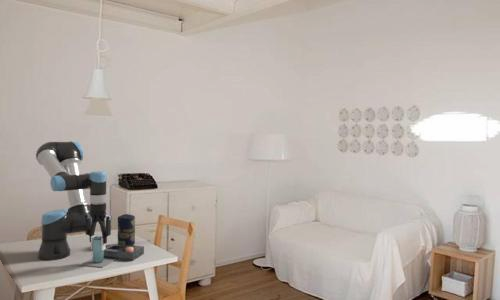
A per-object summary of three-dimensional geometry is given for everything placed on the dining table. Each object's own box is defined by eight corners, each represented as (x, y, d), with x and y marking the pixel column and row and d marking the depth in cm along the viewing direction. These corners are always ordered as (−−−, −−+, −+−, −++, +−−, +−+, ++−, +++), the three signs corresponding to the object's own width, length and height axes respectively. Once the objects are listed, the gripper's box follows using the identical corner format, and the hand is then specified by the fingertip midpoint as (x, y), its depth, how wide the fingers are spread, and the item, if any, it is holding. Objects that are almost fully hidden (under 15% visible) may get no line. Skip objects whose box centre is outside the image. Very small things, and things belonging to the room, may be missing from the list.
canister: (129, 248, 226) (129, 216, 225) (114, 246, 228) (114, 215, 227) (137, 243, 235) (138, 213, 234) (123, 242, 237) (123, 212, 236)
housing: (100, 257, 208) (100, 250, 208) (113, 251, 220) (113, 243, 220) (132, 260, 205) (132, 253, 204) (143, 253, 216) (143, 246, 216)
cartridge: (99, 262, 198) (99, 238, 197) (90, 261, 199) (90, 237, 198) (105, 259, 203) (105, 235, 202) (96, 258, 204) (96, 235, 203)
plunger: (124, 256, 208) (124, 248, 208) (128, 254, 212) (128, 246, 212) (131, 257, 207) (131, 249, 207) (135, 254, 211) (135, 247, 211)
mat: (80, 265, 196) (80, 264, 196) (94, 257, 208) (94, 257, 208) (102, 267, 194) (102, 266, 194) (115, 259, 206) (115, 259, 206)
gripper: (118, 202, 201) (118, 248, 202) (86, 200, 205) (86, 245, 206) (110, 205, 194) (110, 253, 195) (77, 203, 198) (77, 250, 199)
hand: (98, 249), depth 201 cm, fingers closed on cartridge, 5 cm apart
